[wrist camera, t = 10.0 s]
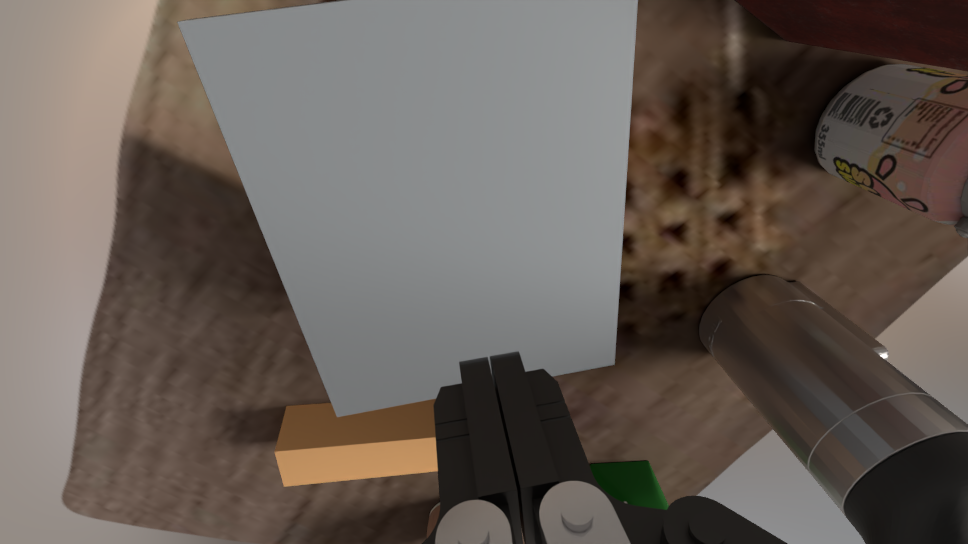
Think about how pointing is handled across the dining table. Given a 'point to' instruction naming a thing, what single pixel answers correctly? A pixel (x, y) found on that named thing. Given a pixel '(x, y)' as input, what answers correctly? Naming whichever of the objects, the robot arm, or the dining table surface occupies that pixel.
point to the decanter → (874, 27)
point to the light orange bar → (355, 443)
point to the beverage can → (902, 139)
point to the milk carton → (630, 483)
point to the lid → (432, 179)
